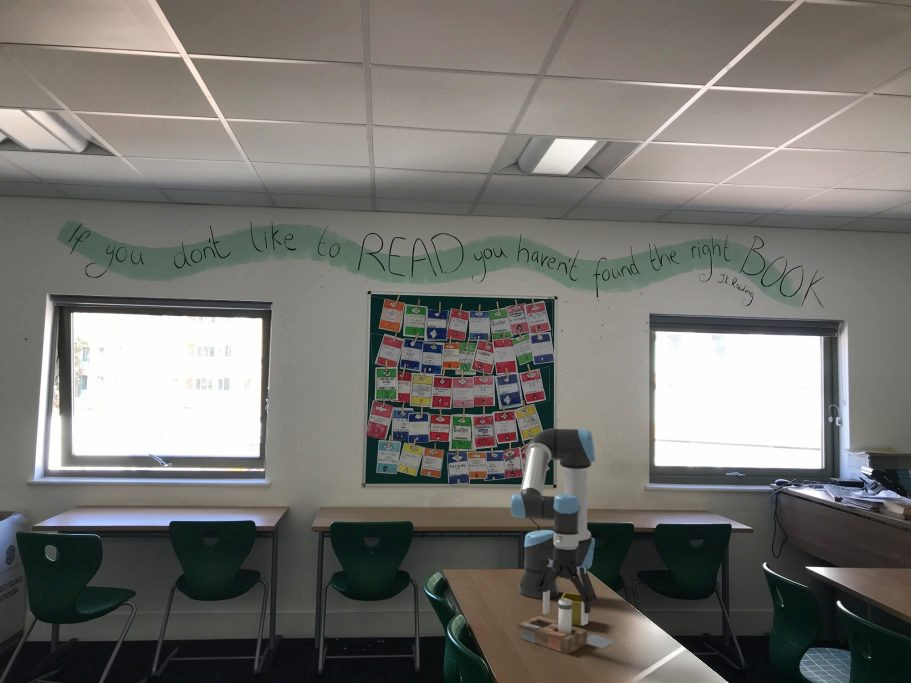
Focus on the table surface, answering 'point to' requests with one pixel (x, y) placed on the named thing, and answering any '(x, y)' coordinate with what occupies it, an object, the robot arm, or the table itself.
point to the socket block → (551, 635)
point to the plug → (565, 616)
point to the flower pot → (575, 607)
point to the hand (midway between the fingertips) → (564, 618)
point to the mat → (598, 641)
